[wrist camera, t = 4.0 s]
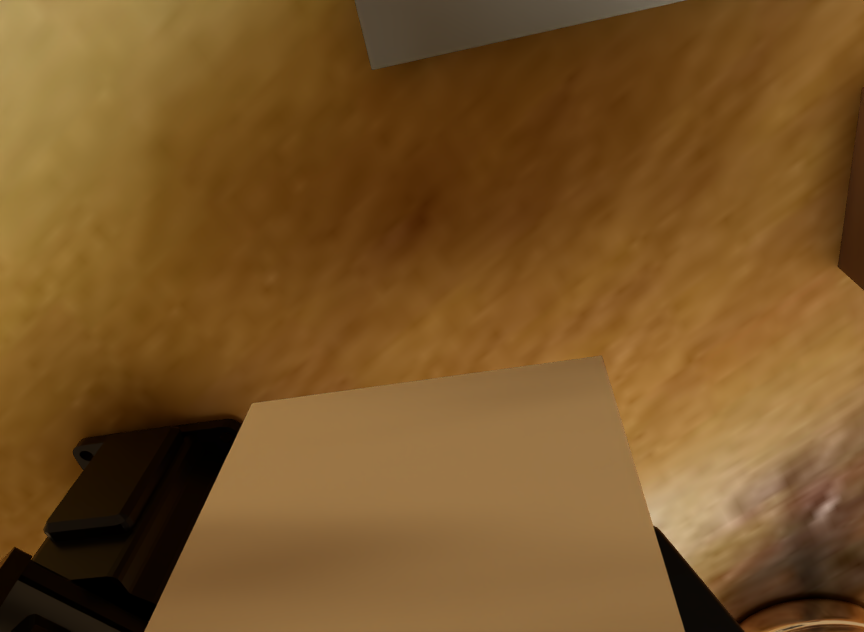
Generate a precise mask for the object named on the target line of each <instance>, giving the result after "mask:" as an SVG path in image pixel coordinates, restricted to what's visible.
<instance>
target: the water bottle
mask: <svg viewBox="0 0 864 632" xmlns="http://www.w3.org/2000/svg"><path fill="white" fill-rule="evenodd" d="M739 625H740V627H741V628H742V629H743V630H744V631H745V632H864V608H862V607H860V606H858V605H855V604H852V603H849V602H845V601H840V600H833V599H802V600H795V601H789V602H785V603H781V604H777V605H774V606H771V607H768V608H766V609H763V610H761V611H759V612H757V613H755V614H753V615H752V616H750V617H748V618H747V619H745V620H744V621H743V622H742V623H740V624H739Z"/></svg>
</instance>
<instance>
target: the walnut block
mask: <svg viewBox="0 0 864 632" xmlns="http://www.w3.org/2000/svg"><path fill="white" fill-rule="evenodd" d="M838 267H839V268H840V269H841V270H842V271H843V272H844V273H845V274H846V275H848V276H849V277H850V278H851V279H852V280H853V281H854V282H855V283H856V284H858V285H859V286H860V287H861V288H862V289H863V290H864V87H862V93H861V101H860V108H859V116H858V123H857V130H856V138H855V145H854V152H853V160H852V167H851V175H850V182H849V189H848V197H847V204H846V211H845V219H844V226H843V234H842V241H841V248H840V256H839V263H838Z"/></svg>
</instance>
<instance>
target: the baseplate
mask: <svg viewBox="0 0 864 632" xmlns="http://www.w3.org/2000/svg"><path fill="white" fill-rule="evenodd" d="M681 1H685V0H355V4H356V8H357V12H358V16H359V20H360V24H361V28H362V32H363V36H364V40H365V44H366V48H367V52H368V56H369V60H370V64H371V68H372V70H375V69H379V68H384V67H388V66H393V65H397V64H402V63H406V62H411V61H415V60H420V59H424V58H429V57H433V56H438V55H442V54H447V53H451V52H456V51H460V50H465V49H469V48H474V47H478V46H483V45H487V44H492V43H496V42H501V41H505V40H510V39H514V38H519V37H523V36H528V35H532V34H537V33H541V32H546V31H550V30H555V29H559V28H564V27H568V26H573V25H577V24H582V23H586V22H591V21H595V20H600V19H604V18H609V17H613V16H618V15H622V14H627V13H631V12H636V11H640V10H645V9H649V8H654V7H658V6H663V5H667V4H672V3H676V2H681Z"/></svg>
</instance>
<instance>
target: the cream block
mask: <svg viewBox="0 0 864 632" xmlns="http://www.w3.org/2000/svg"><path fill="white" fill-rule="evenodd" d="M144 632H685V630H684V627H683V623H682V620H681V617H680V614H679V610H678V607H677V604H676V600H675V597H674V594H673V590H672V587H671V584H670V580H669V577H668V574H667V570H666V567H665V564H664V560H663V557H662V554H661V550H660V547H659V544H658V541H657V537H656V534H655V531H654V527H653V524H652V521H651V517H650V514H649V511H648V507H647V504H646V501H645V497H644V494H643V491H642V487H641V484H640V481H639V477H638V474H637V471H636V467H635V464H634V461H633V458H632V454H631V451H630V448H629V444H628V441H627V438H626V434H625V431H624V428H623V424H622V421H621V418H620V414H619V411H618V408H617V404H616V401H615V398H614V394H613V391H612V388H611V385H610V381H609V378H608V375H607V371H606V368H605V365H604V361H603V358H602V356H596V357H588V358H581V359H574V360H566V361H559V362H552V363H544V364H537V365H530V366H522V367H515V368H508V369H500V370H493V371H486V372H478V373H471V374H464V375H456V376H449V377H442V378H434V379H427V380H419V381H412V382H405V383H397V384H390V385H383V386H375V387H368V388H361V389H353V390H346V391H339V392H331V393H324V394H317V395H309V396H302V397H295V398H287V399H280V400H273V401H265V402H258V403H252V404H251V407H250V409H249V411H248V413H247V415H246V417H245V419H244V421H243V424H242V426H241V428H240V430H239V432H238V434H237V436H236V438H235V440H234V443H233V445H232V447H231V449H230V451H229V453H228V455H227V457H226V460H225V462H224V464H223V466H222V468H221V470H220V472H219V474H218V477H217V479H216V481H215V483H214V485H213V487H212V489H211V491H210V493H209V496H208V498H207V500H206V502H205V504H204V506H203V508H202V510H201V513H200V515H199V517H198V519H197V521H196V523H195V525H194V527H193V530H192V532H191V534H190V536H189V538H188V540H187V542H186V544H185V546H184V549H183V551H182V553H181V555H180V557H179V559H178V561H177V563H176V566H175V568H174V570H173V572H172V574H171V576H170V578H169V580H168V583H167V585H166V587H165V589H164V591H163V593H162V595H161V597H160V600H159V602H158V604H157V606H156V608H155V610H154V612H153V614H152V616H151V619H150V621H149V623H148V625H147V627H146V629H145V631H144Z"/></svg>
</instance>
